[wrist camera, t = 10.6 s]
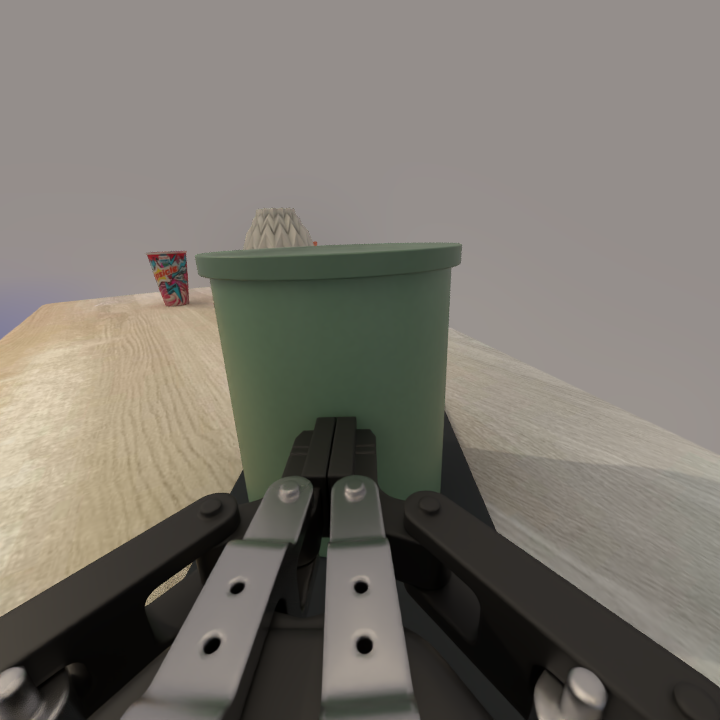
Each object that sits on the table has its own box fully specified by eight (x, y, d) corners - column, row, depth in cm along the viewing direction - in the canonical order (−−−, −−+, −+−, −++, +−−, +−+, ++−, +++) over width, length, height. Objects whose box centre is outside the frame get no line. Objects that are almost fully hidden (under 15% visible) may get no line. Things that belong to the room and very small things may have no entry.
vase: (341, 321, 60) (334, 204, 54) (241, 332, 56) (222, 205, 49) (320, 305, 75) (313, 211, 69) (240, 313, 70) (225, 213, 64)
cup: (148, 307, 80) (135, 252, 76) (173, 301, 88) (163, 251, 84) (185, 307, 79) (173, 251, 75) (207, 300, 86) (197, 250, 82)
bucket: (475, 457, 22) (494, 240, 18) (379, 619, 13) (369, 256, 9) (330, 412, 29) (317, 245, 24) (196, 500, 19) (138, 256, 15)
